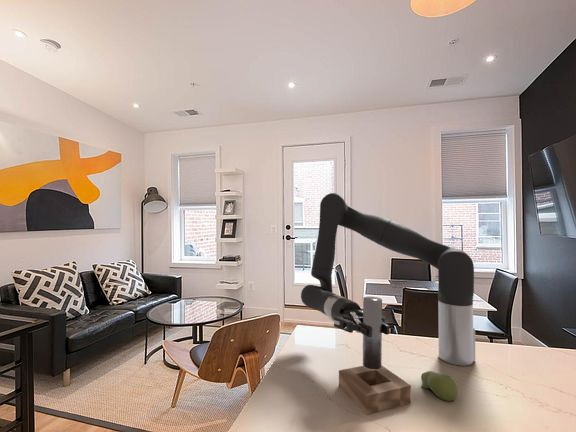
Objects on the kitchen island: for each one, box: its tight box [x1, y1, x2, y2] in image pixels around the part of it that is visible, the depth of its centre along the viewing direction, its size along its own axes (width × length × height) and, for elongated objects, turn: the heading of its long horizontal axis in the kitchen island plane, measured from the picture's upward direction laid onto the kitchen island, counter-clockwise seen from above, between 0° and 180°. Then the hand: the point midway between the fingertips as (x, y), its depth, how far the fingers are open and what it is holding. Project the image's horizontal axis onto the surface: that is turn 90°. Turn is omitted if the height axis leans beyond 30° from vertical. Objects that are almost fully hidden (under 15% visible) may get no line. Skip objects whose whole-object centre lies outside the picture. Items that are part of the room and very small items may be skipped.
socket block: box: [338, 365, 412, 415], centre depth 74 cm, size 12×12×4 cm
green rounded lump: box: [420, 370, 459, 402], centre depth 75 cm, size 6×5×10 cm
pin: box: [362, 296, 383, 369], centre depth 75 cm, size 4×4×16 cm
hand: (379, 331), depth 72 cm, fingers closed on pin, 4 cm apart
